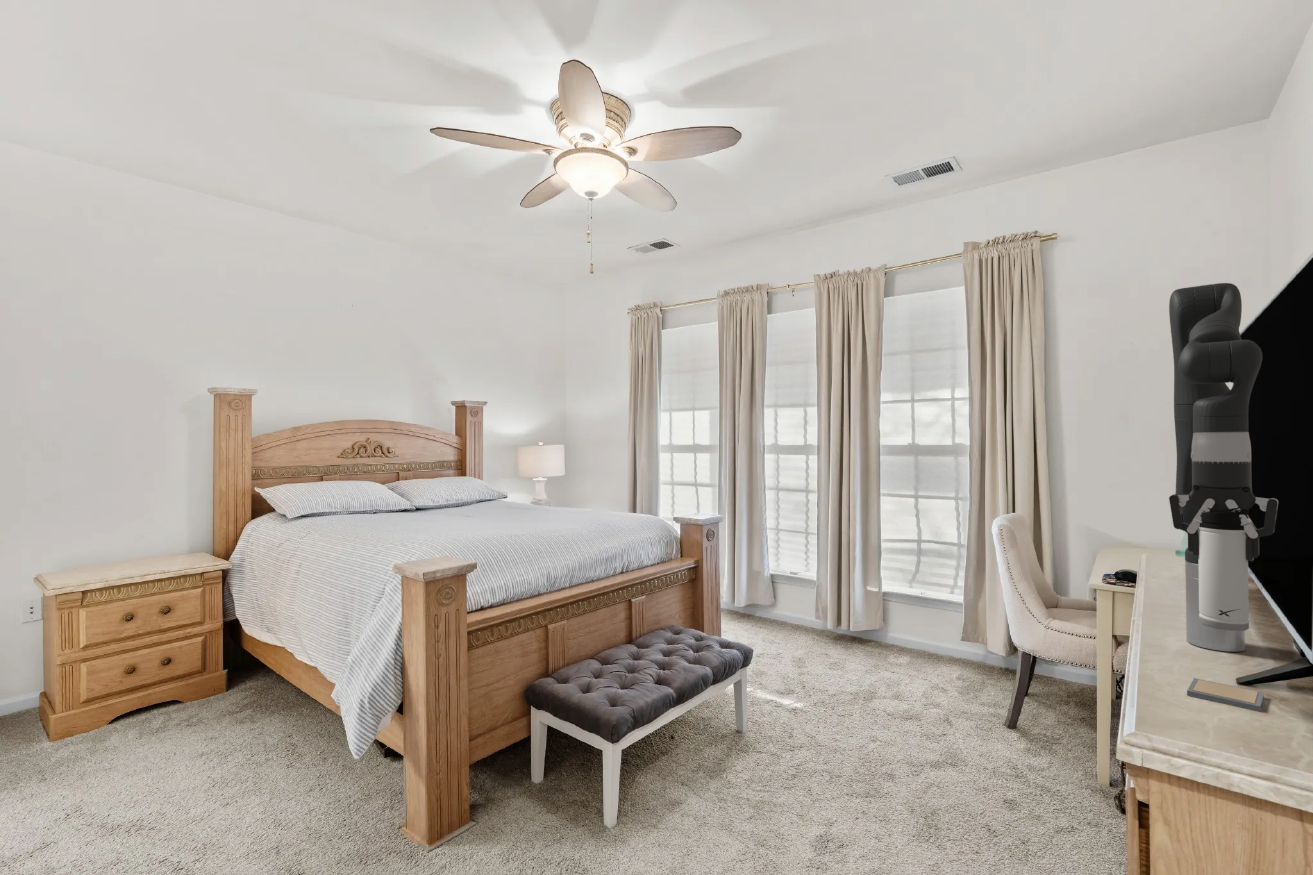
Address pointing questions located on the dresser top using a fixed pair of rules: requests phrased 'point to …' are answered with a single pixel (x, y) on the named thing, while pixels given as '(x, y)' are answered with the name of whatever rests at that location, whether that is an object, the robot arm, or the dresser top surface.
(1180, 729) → the dresser top surface
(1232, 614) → the travel mug
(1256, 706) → the slate coaster
